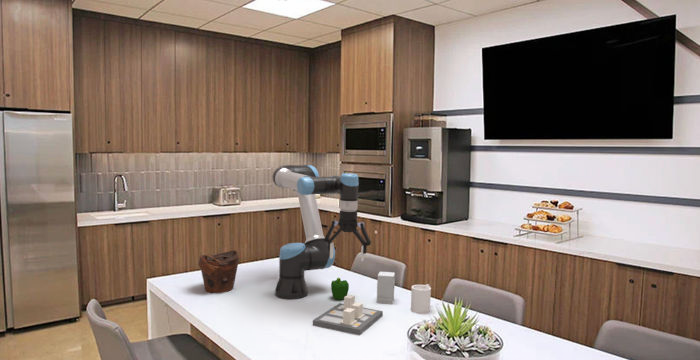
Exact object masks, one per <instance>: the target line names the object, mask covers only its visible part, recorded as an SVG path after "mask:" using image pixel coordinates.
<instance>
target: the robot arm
mask: <svg viewBox="0 0 700 360" xmlns="http://www.w3.org/2000/svg"><path fill="white" fill-rule="evenodd" d="M271 177H272V183H273V184H274V185H275V186H276V187H278V188H282V189H292V190H293V192H294V194H295V195H296V196H297V197H298V203H299V208H300V213H301V217H302V219H301V220H302V223H303V228H304V230H303V231H304V234H305V239H306V240H305V242H304V243H303V242H291V243H290V242H289V243H286V244H284V245H282V246H281V247H280V249H279V256H278V258H279V259H278V260H279V261H278V263H279V266H278V267H279V270H278V274H279V276H278V280H277V284H276V287H275V291H274V292H275V293H274V294H275V296H276V297H278V298H280V299H285V300H294V299H302V298H305V297H307V296H308V294H309V293H308V292H309V289H308V287H307V283H306V279H305V272H306V271H315V270H324V269H329V268H331V267H332V266H333V264H334V262H335V259H336V250H335V249H336V248H335V246H334V245H335V244H334V243H335V242H333V241H334V240H335V239H336V238H337V237H338V236H339V235H340V234H341V232H343V233H353V234H354V236H355V237H356V238H357V239H358V241H359V242H360V243H361V244H362V245H361V247H360V249H361V250H360V262H364V260H365V255H366V254H367V250H368V249H367V247H368V246H370V245H372V241H371V239H370V236H369V234H368V232H367V230H366V227H365V225H366V224H365V222H364V221H362V222H358V211H357V210H358V204H359V202H358V201H359V183H360V182H359V175H358V174H356V173H342V174H341V175H340V176H339V175H331V176H320V174H319V172H318V170H317V168H316V167H315V166H313V165H309V164H303V165H301V164H300V165H299V164H298V165H297V164H296V165H295V164H294V165H292V164H286V165H281V166H279V167H277V168H276V169H274V171H273V173H272V176H271ZM333 194H334V195H335V194H336V195H337V194H338V195H339V215H338V216H339V217H338V218H339V220H336V219H334V220H333V219H332V221H331V225H330V227H329V229H328V231H327V233H326V235H325V236H324V232H323V227H322V221H321V216H320V212H319V207H318V203H317V197H316V195H333ZM336 226H338V227H339V229H338V230H337V231H336V232H335V233H334V234H333V235H332V233H333V231H334V229H335V227H336ZM357 227H359V229H360V230H361V233H360V232H359V230H358V229H357ZM361 234H363V236H362V235H361Z"/></svg>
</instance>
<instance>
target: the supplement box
mask: <svg viewBox="0 0 700 360" xmlns="http://www.w3.org/2000/svg"><path fill="white" fill-rule="evenodd" d="M395 276H396V273H395V272H394V271H393V272H391V271H379V272H378V274H377V283H376V304H377V303H378V304H388V305H393V302H394V300H395V285H396V283H395V282H396V281H395V278H396V277H395Z"/></svg>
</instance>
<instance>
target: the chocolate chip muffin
mask: <svg viewBox="0 0 700 360" xmlns="http://www.w3.org/2000/svg"><path fill="white" fill-rule="evenodd" d="M239 262H240V258H239V253H238V251H237V250H235V249H233V250H229V251H226V252H221V253H217V254H213V255H212V254H202V255H200V256H199V259H198V262H197V265H198V267H199V268H200V271H201V275H202V276H201V277H202V280H203V286H204V291H206V292H207V293H211V294H212V293H213V294H215V293H216V294H219V293H227V292H229V291H232V290H233V289H234V285H235V281H236V276H237V271H238V266H239V264H240V263H239Z"/></svg>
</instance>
